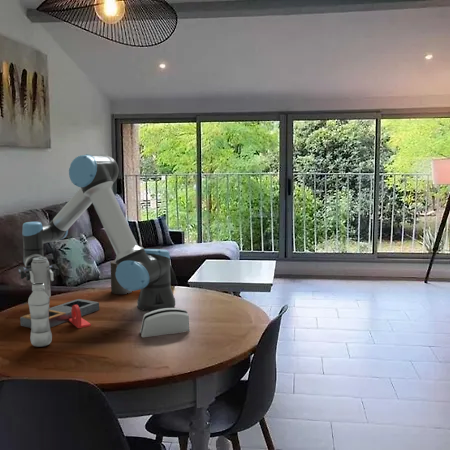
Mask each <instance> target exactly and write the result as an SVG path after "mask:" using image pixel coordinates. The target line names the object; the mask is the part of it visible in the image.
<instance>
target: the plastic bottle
mask: <svg viewBox="0 0 450 450" xmlns="http://www.w3.org/2000/svg"><path fill="white" fill-rule="evenodd" d="M44 289H45V287H44V283H34V284H32V283H31V291H32V292H31V294H30V295H29V297H28V300H27V302H28V303H27V304H28V308H29V314H31V328H30V329H31V330H30V339H29V340H30V344H31V345H32V346H33V347H37V348H38V347H39V348H40V347H46V346H49V345H50V344H51V343H52V340H53V334H52V329H51V327H50V324H49V308H50V304H51V303H50V301H51V300H50V297H49V296H48V295H47V294H46V293H45V292H44Z"/></svg>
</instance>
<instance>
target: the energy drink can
mask: <svg viewBox="0 0 450 450" xmlns="http://www.w3.org/2000/svg"><path fill="white" fill-rule="evenodd" d="M49 266H50V262H49V260H48V257H46V256H44V257H37V258H33V261H32V263H31V270H32V273H33V277H34V283H44V287H45V289H44V292H45V293H46V294H47V295H48V296H49V298H51V297H52V293H51V291H52V290H51V279H50V272H49V271H50V270H49ZM34 283H31V285H32V284H34Z"/></svg>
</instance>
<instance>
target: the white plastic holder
mask: <svg viewBox="0 0 450 450" xmlns="http://www.w3.org/2000/svg"><path fill="white" fill-rule="evenodd" d="M189 315H190V314H189V313H188V311H187V309H185V308H178V307H173V308H163V309H158V310H154V311H148V312H147V313H145V314H143V315H142V316H143V317H142V322H141V327H140V329H139V334H141V337H142V338H149V337H156V336H163V335H172V334H180V333H186V332H185V331H188V332H190V331H191V330H190V317H189ZM179 332H180V333H179Z"/></svg>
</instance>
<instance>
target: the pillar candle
mask: <svg viewBox="0 0 450 450" xmlns="http://www.w3.org/2000/svg"><path fill="white" fill-rule="evenodd" d="M116 268H117V265H116V262H115V259H114V260H111V261H110V287H111V288H110V291H111V294H114V295H127V293H128V294H130V293H133V292H132V291H130V290H127V289H125V288H123V287H122V286H121V285H120V284H119V283H118V281H117V279H116V274H115V273H116Z"/></svg>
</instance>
